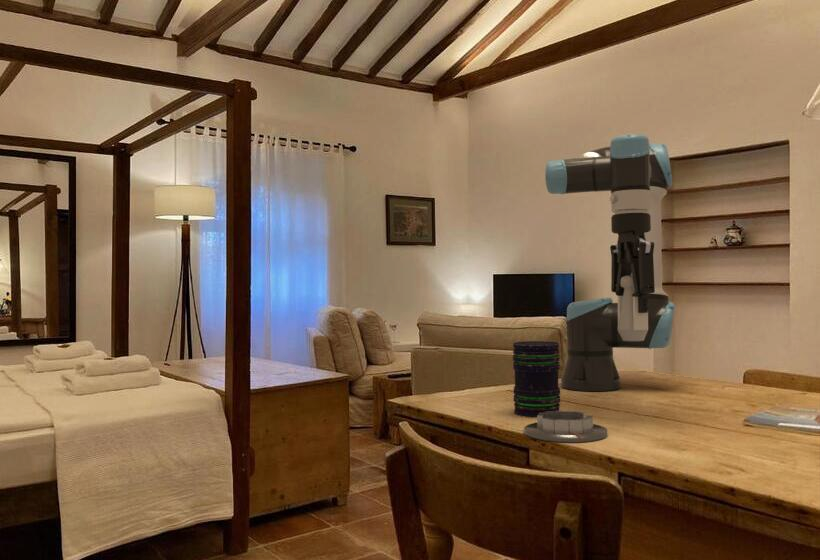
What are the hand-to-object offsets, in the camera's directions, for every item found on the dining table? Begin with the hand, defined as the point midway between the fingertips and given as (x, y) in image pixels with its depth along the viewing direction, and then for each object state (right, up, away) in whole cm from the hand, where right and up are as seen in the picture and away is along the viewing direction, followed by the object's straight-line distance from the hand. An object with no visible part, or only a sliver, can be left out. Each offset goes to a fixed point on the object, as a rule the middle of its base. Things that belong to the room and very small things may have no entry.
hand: (632, 328), depth 139 cm
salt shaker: (0, -3, 0) cm, 3 cm away
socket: (-16, -19, -11) cm, 27 cm away
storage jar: (-18, -19, +9) cm, 27 cm away
